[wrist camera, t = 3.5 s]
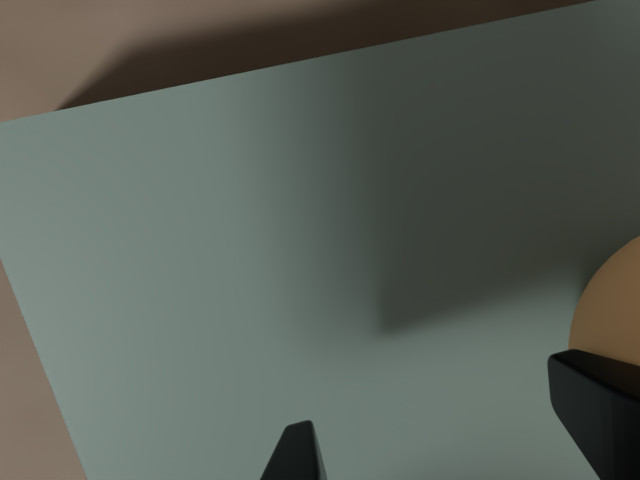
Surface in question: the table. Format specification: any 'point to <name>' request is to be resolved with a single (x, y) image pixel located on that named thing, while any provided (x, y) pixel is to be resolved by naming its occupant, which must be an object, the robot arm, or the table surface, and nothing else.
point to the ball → (611, 309)
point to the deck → (331, 252)
